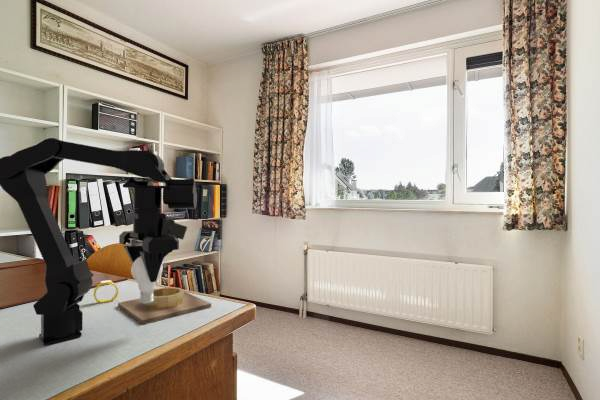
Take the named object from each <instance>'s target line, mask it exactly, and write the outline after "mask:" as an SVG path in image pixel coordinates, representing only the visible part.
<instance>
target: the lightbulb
mask: <svg viewBox="0 0 600 400" xmlns="http://www.w3.org/2000/svg"><path fill="white" fill-rule="evenodd" d="M163 265H164V264H163V263H162V264H161V267H160V270H159V273H158V276H157V280H156V281H155V282H150V280H149V277H148V275H147V272H146V269H145V266H144V263H143V260H142V257H141V256H140V257H138V258H137V259H136V260H135V261H134V262H133V264H131V270H130V271H131V276H132V277H133V279H134V281H136V283H137V286H138V289H139V291H140V292H139V293H140V298H141V299H140V300H141V301H140V302H141V303H143V304H146V305H147V304H150V303H151V302H153V301H154V299H153V298H154V297H153V296H154V295H153V294H154V293H153V292H154V289H156V286H157V282H158V280H159V279H160V278H161V275H162V274H163V270H164V267H163Z"/></svg>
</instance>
